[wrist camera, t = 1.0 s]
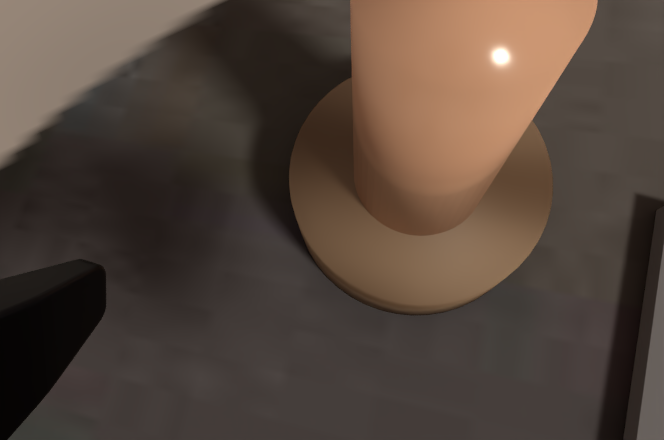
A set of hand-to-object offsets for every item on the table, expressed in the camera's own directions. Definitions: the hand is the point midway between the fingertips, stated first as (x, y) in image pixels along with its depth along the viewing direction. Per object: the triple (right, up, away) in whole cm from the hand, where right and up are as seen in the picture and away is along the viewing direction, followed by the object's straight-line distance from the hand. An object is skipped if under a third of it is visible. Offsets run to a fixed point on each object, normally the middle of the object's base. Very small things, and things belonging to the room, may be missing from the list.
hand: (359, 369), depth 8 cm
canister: (+3, +4, +12) cm, 13 cm away
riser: (+3, +3, +15) cm, 16 cm away
